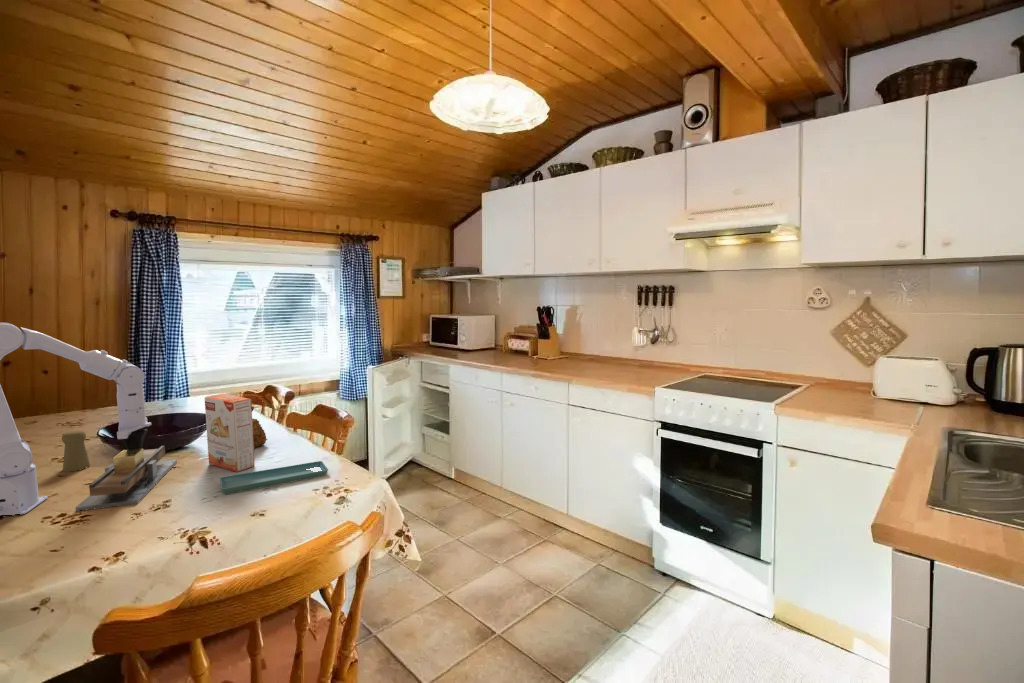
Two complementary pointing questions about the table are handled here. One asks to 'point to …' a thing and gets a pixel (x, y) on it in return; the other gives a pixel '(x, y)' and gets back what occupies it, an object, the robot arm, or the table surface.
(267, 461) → the table surface
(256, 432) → the stuffed squirrel
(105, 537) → the table surface
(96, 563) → the table surface
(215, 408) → the cracker box
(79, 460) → the olive green shaker
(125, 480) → the walnut beam
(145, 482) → the pivot stand
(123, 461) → the brass block
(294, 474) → the rectangular tray
